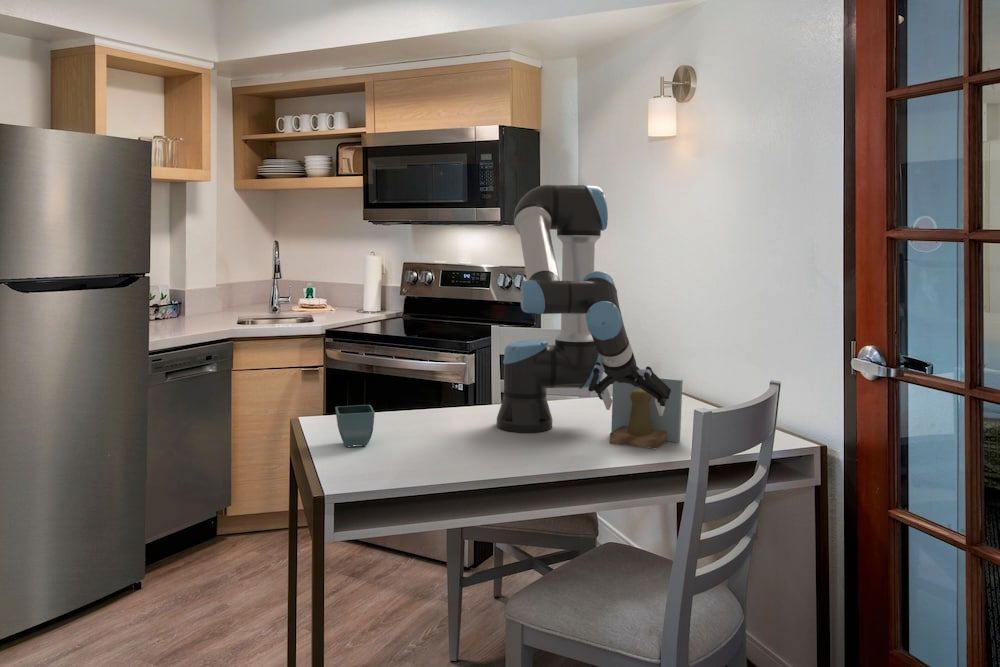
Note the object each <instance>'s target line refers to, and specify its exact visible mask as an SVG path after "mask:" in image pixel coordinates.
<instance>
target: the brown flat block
mask: <svg viewBox="0 0 1000 667" xmlns="http://www.w3.org/2000/svg"><path fill="white" fill-rule="evenodd" d="M610 442H612V443H611V444H616V443H619V444H618V445H623V444H627V445H626V446H630V445H634V446H633V447H637V446H641V447H640V448H644V447H650V448H649V449H651V448H657V447H658V448H659V447H661V446H662V445H663V444H665V443H667V442H668V441H667V431H659V430H651V434H650V435H633V434H630V433H628V426H621V427H619V428H618V429H616V430H614V431H613V432H610V433H609V443H610ZM664 442H665V443H664ZM661 444H662V445H661ZM660 445H661V446H660ZM658 448H657V449H658Z"/></svg>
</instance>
